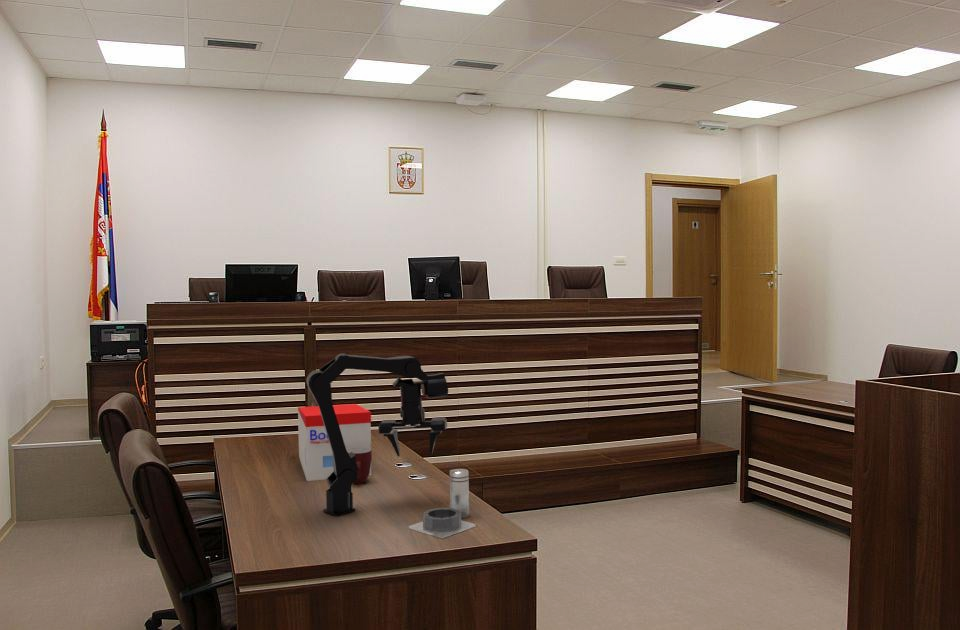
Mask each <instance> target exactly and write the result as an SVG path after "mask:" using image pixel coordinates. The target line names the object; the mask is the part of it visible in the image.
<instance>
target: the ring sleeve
mask: <svg viewBox="0 0 960 630" xmlns="http://www.w3.org/2000/svg"><path fill="white" fill-rule="evenodd" d="M475 527H476V523H473V522H468V521H465V520H463V519H462V518H461V512H460V511H459V510H456V509H452V508H450V507H438V508H436V507H435V508H431V509H427V510H425V511H424V512H423V513H422V521H420V522H417V523H414V524H411V525H408V529H410V530H413V531H416V532H419V533H422V534H426V535H429V536H432V537H435V538H437V539H445V538H448V537H452V536H453V535H456V534H459V533H461V532H464V531H468V530H470V529H473V528H475Z"/></svg>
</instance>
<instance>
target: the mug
mask: <svg viewBox="0 0 960 630" xmlns="http://www.w3.org/2000/svg"><path fill="white" fill-rule="evenodd" d="M347 452H348V454H349V453H350V452H353V454H354V455H355V457H356V463H357V466H358V468H359V469H360V470H359V471H358V470H357V471H358V478H357V480H356V481H355V482H354V483H353V484H355V485H356V484H357V485H359V484H360V485H361V484H365V483H366V481H367V479H368V478H369V473H370V466H371V467H372V458H373V456H372V454H373V453H372V448H371V449H369V448H353V449H348V450H347Z"/></svg>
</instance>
